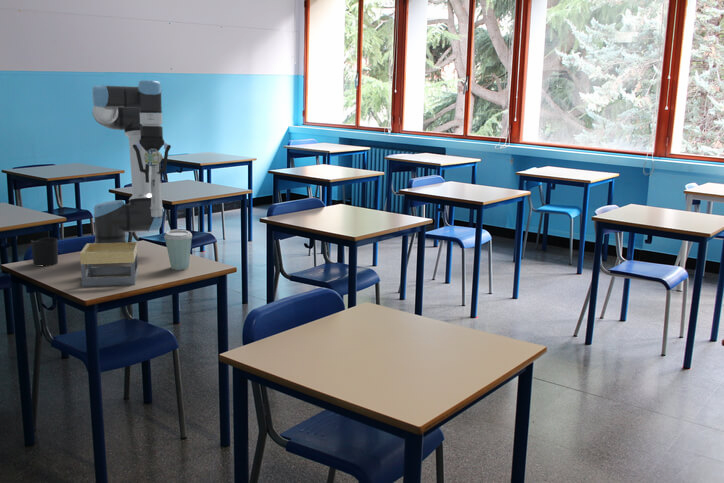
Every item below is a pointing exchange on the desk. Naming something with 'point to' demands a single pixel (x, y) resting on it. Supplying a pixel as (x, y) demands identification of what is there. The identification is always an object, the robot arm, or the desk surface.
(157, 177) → the toothbrush head
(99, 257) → the collar stand
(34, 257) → the pen holder
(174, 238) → the disposable coffee cup
